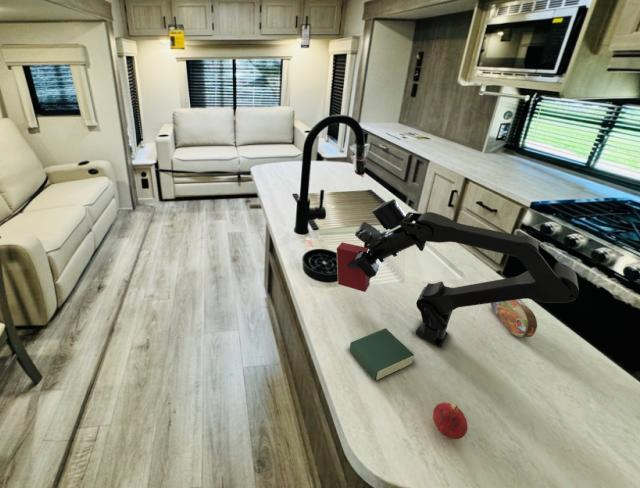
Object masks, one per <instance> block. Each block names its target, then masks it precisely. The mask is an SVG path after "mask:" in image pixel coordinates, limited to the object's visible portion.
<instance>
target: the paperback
mask: <svg viewBox="0 0 640 488" xmlns="http://www.w3.org/2000/svg"><path fill="white" fill-rule="evenodd" d="M368 249H369V248H366V247H364V246H361V245H357V244H351V243H347V242H343V241H342V242H341V243H340V244H339V245H338V246H337V247H336V269H337V270H336V271H337V273H336V274H337V284H338V285H340V286H344V287H346V288H350V289H354V290H356V291H359V292H364V293H366V292H367V290H368V289H369V287H370V280H371V278H368V277H367V276H366V275H365V273H364V272H363V271H362V270H361V269H352V268H349V267H348V266H347V265H348V264H349V263H350V262H352V261H353V260H355V259H356V257H357V254H358V252H359V251H361V252H363V251H365V252H367V251H368Z"/></svg>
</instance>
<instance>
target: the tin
mask: <svg viewBox="0 0 640 488" xmlns="http://www.w3.org/2000/svg"><path fill="white" fill-rule="evenodd" d="M490 308H491V309H492V312H493V313H494V314H495V316H496V317H497V318H498V320H500V321H501V322H502V324H503V325H504V326H505V328H506V329H507V331H509V332H510V334H512V335H513V336H514V337H518V338H519V337H522V338H531V337H533V336H534V335H535V333H536V331H537V329H538V321H537V320H538V319H537V317H536V316H535V313H534V311H533V310H532V309H531V308H530V307H529V306H528V305H527V304H526V303H525V302H523V300H522V299H518V300H511V301H503V302H496V303H490Z"/></svg>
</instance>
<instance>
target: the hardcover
mask: <svg viewBox="0 0 640 488" xmlns="http://www.w3.org/2000/svg"><path fill="white" fill-rule="evenodd" d="M349 352H350V353H351V355H353V357H354V358H355V359H356V361H358V363H359V364H360V365H361V367H363V368H364V370H365V371H366V372H367V373H368V375H370V377H371V378H372V379H373V380H374V381H379V380H380V379H382V378H384V377H386V376H388V375H390V374H393V373H394V372H397V371H399V370H401V369H403V368H405V367H408V366H410V365H412V363H413V359H414V356H415V354H414V353H413V352H412V350H410V349H409V348H408V347H407V346H406V345H404V344H403V343H402V342H401V341H400V340H399V339H398V338H397V337H396V336H395V335H394V334H393V333H392V332H391V331H389V329H387V328H386V327H385V328H383V329H381V330H378V331H375V332H373V333H371V334H368V335H365V336H363V337H361V338H358V339H356V340H353V341H350V346H349Z"/></svg>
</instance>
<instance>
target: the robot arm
mask: <svg viewBox="0 0 640 488" xmlns="http://www.w3.org/2000/svg"><path fill="white" fill-rule="evenodd" d="M371 214H373V216H374V218H375V219H376V220H377V221H378V222H379V224H380V225H381V227H383V229H385V231H381V230H379V229H377V228H376V227H374V226H372V224H370V223H369V222H367V221H363V222H362V223H361V225H359V227H358V228H357V229H356V231H355V232H354V236H355V237H356V238H357V239H358V240H360V241H361V242H362V243H363V247H366V248H369V249H368V251H367V252H365V251H363V252H361V251H359V252H358V254H357V257H356V259H355V260H353V261H352V262H350V263H349V264H348V265H347V266H348V267H349V268H352V269H361V270H362V271H363V272H364V273H365V275H366V276H367V277H368V278H370V279H371V278H375V277H376V275H377V273H378V272H379V267H380V264H378V262H377V261H379V262H380V263H384V262H385V261H386V259H387V258H389V257H391V256H393V258H395V257H397V256H398V255H399V252H403V251H405V250H407V249H409V248H411V247H413V246H416V247H417V248H418V250H419V251H420V252H424V249H425V247H426V243H439V244H442V243H457V244H461V245H465V246H468V247H474V248H478V249H481V250H485V251H490V252H494V253H498V254H504V255H506V256H511V257H516V258H517V259H518V260H519V261H520V262H521V263H522V265H523V266H524V268H525V269H526V271H525V272H523V273H520V274H519V275H517V276H511V277H507V278H501V279H495V280H489V281H483V282H478V283H472V284H466V285H461V286H456V287H450V286H446V285H445V284H444V281H443V280H441V281H438V282H435V283H430V282H429V283H427V284H426V286H424V287H423V289H422V290H421V292H420V294H419V296H418V298H417V300H416V303H415V304H416V308H417V310H418V311H419V312H420V315H421V323H420V325H419V326H418V328H417V330H416V331H415V333H414V334H415V335H416V337H419V338H421V339H423V340H425V341H426V342H429V343H430V344H433V345H434V346H436V347H438V348H443V346H444V343H445V342H446V340H447V339H448V336H449V333H448V332H447V328H448V325H449V322H450V320H451V317H452V313H453V312H454V310H456V309H459V308H465V307H473V306H479V305H487V304H491V303H496V302H503V301H511V300H518V299H520V300H525V299H526V300H531V301H536V302H541V303H549V304H550V303H552V304H553V303H555V304H557V303H559V304H560V303H561V304H564V303H571V302H574V301H575V300H576V299H577V298H578V296H579V293H580V289H579V282H578V276H577V274H576V272H575V270H574V269H573V268H571V267H570V266H568V265H567V264H563V263H561V262H560V261H559V260H558V259H557V257H555V256H554V255H553V253H551V252H550V251H548V250H547V249H546V248H544V247H543V246H542V245H541V244H540V243H539V242H538V241H537V240H536V239H535V238H534V237H531V236H529V235H517V234H513V233H507V232H502V231H498V230H493V229H488V228H483V227H479V226H473V225H468V224H463V223H460V222H457V221H454V220H453V219H451V218H450V217H447V216H445V215H442V214H440V213H436V212H432V211H425V212H423V213H421V212H410V211H408V212H407V213H405V212H404V211H403V209H402V208H401V207H400V205H399V204H398V202H397V200H396V199H395V198H392V199H391V200H388V201H384V202H383V203H380V204H379V205H378V206H376V207H374V209H372V210H371ZM387 230H390V231H389V232H388V231H387Z"/></svg>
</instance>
